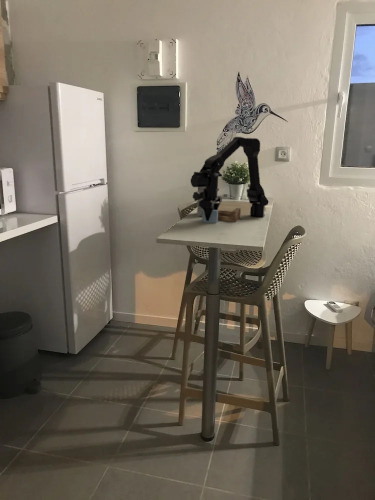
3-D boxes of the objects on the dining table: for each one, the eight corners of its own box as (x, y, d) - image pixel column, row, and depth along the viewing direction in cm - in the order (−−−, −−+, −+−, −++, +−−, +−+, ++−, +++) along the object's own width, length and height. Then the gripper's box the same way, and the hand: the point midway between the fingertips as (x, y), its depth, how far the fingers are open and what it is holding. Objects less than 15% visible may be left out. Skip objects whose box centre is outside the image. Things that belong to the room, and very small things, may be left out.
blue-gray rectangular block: (217, 222, 190) (218, 210, 188) (216, 223, 188) (217, 210, 186) (203, 221, 192) (204, 208, 190) (202, 221, 190) (202, 209, 188)
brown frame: (240, 218, 201) (240, 208, 199) (235, 221, 192) (236, 211, 190) (213, 215, 205) (213, 205, 204) (207, 219, 196) (208, 209, 195)
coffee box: (199, 212, 212) (200, 182, 207) (211, 213, 211) (213, 183, 206) (196, 215, 203) (197, 184, 199) (209, 216, 202) (210, 185, 197)
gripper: (201, 183, 196) (200, 214, 200) (188, 187, 179) (187, 221, 183) (223, 184, 192) (221, 216, 197) (212, 189, 176) (210, 223, 180)
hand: (209, 219), depth 189 cm, fingers open, 8 cm apart
